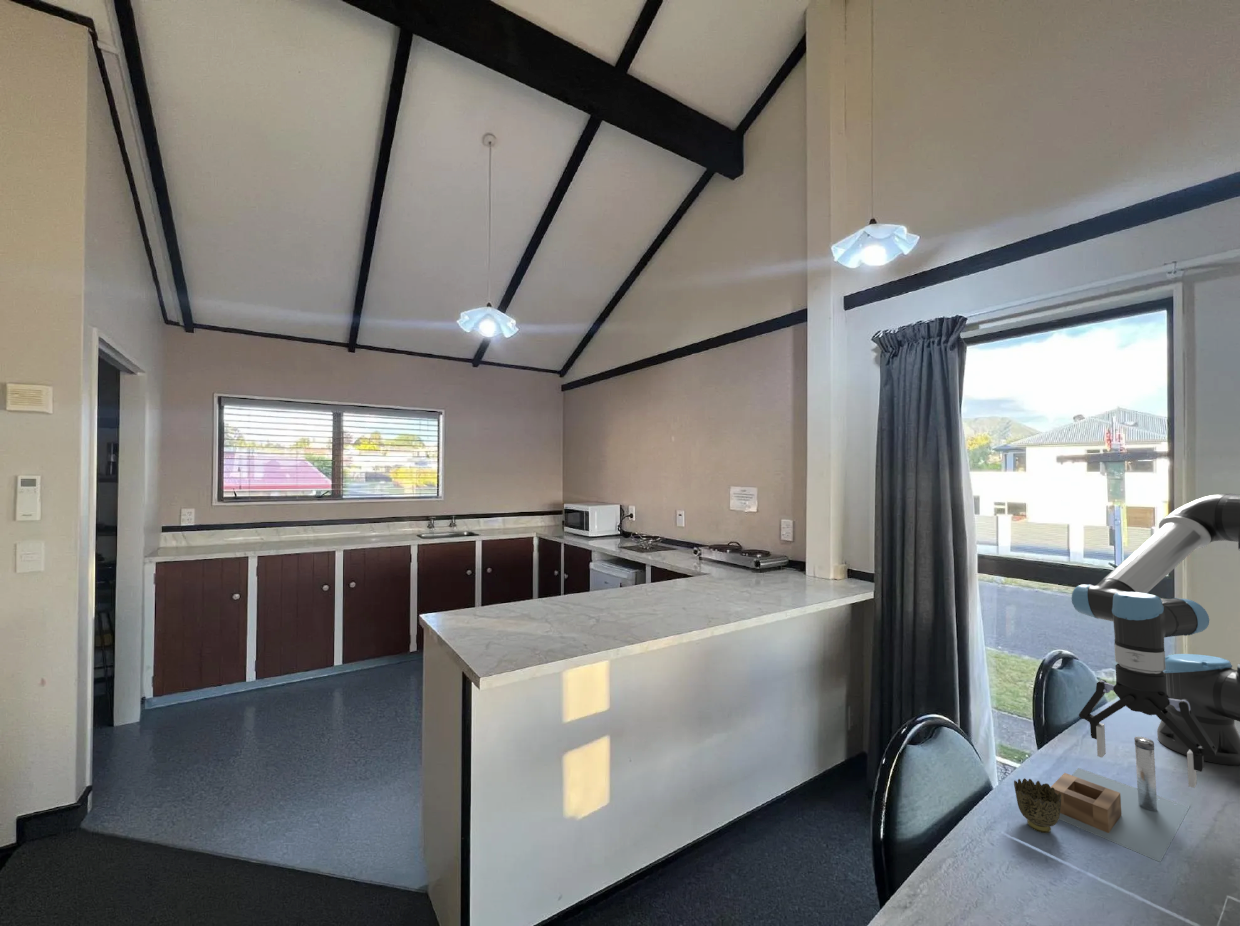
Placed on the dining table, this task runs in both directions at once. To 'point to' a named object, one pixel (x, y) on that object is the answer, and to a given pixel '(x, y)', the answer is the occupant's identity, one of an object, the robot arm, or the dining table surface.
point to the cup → (1038, 804)
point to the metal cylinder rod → (1146, 773)
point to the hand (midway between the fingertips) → (1144, 769)
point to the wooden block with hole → (1088, 802)
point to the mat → (1136, 819)
